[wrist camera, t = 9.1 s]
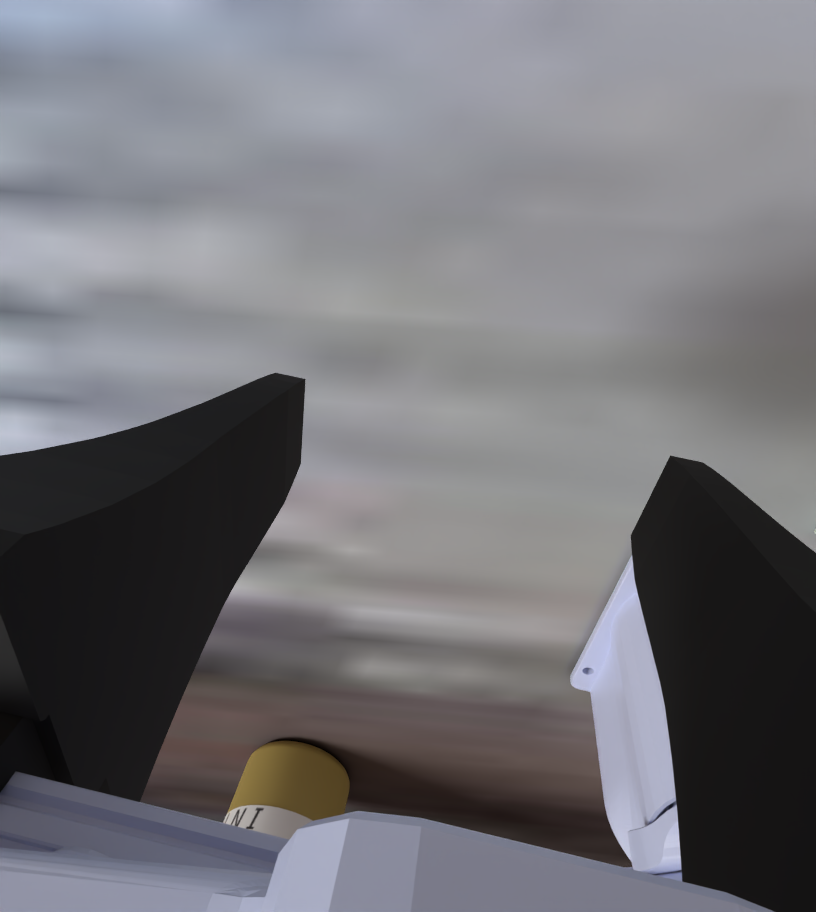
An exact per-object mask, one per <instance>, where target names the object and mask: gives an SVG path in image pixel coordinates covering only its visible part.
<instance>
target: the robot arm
mask: <svg viewBox="0 0 816 912" xmlns="http://www.w3.org/2000/svg"><path fill="white" fill-rule="evenodd" d="M304 394H305V379H302V378H297V377H293V376H288V375H283V374H278V373H274V374H270V375H267V376H265V377H262V378H260V379H257V380H255V381H253V382H250V383H248V384H246V385H243V386H241V387H239V388H237V389H234V390H232V391H230V392H227V393H225V394H223V395H220V396H218V397H216V398H213V399H211V400H209V401H206V402H204V403H202V404H199V405H196V406H194V407H191V408H188V409H186V410H183V411H180V412H178V413H175V414H172V415H170V416H167V417H164V418H162V419H159V420H156V421H153V422H150V423H147V424H144V425H141V426H138V427H134V428H131V429H128V430H124V431H120V432H117V433H113V434H109V435H106V436H102V437H98V438H94V439H89V440H84V441H79V442H74V443H69V444H64V445H60V446H55V447H50V448H45V449H40V450H35V451H29V452H22V453H15V454H8V455H2V456H0V912H816V553H815V552H814V551H812V550H811V549H810V548H809V547H807V546H806V545H805V544H804V543H802V542H801V541H800V540H799V539H797V538H796V537H795V536H794V535H792V534H791V533H790V532H789V531H787V530H786V529H785V528H784V527H783V526H781V525H780V524H779V523H778V522H777V521H775V520H774V519H773V518H772V517H771V516H769V515H768V514H767V513H766V512H765V511H763V510H762V509H761V508H760V507H759V506H757V505H756V504H755V503H754V502H753V501H752V500H750V499H749V498H748V497H747V496H746V495H744V494H743V493H742V492H741V491H740V490H738V489H737V488H736V487H735V486H734V485H732V484H731V483H730V482H729V481H727V480H726V479H725V478H724V477H722V476H721V475H720V474H719V473H717V472H716V471H714V470H713V469H712V468H710V467H709V466H707V465H706V464H704V463H702V462H698V461H693V460H688V459H683V458H679V457H674V456H670V457H669V459H668V462H667V464H666V466H665V468H664V470H663V472H662V474H661V476H660V478H659V480H658V482H657V484H656V486H655V488H654V490H653V492H652V494H651V496H650V498H649V500H648V502H647V504H646V506H645V508H644V510H643V512H642V514H641V516H640V518H639V520H638V522H637V524H636V526H635V528H634V530H633V532H632V534H631V545H632V556H631V558H630V559H629V561H628V563H627V565H626V567H625V569H624V571H623V573H622V575H621V577H620V579H619V581H618V583H617V585H616V587H615V589H614V591H613V593H612V595H611V597H610V599H609V601H608V603H607V605H606V607H605V609H604V611H603V613H602V615H601V616H600V618H599V620H598V622H597V624H596V626H595V628H594V630H593V632H592V634H591V636H590V638H589V640H588V642H587V644H586V646H585V648H584V650H583V652H582V654H581V656H580V658H579V660H578V662H577V664H576V666H575V668H574V670H573V672H572V673H571V676H570V680H571V685H572V686H573V687H575V688H577V689H580V690H585V691H589V692H590V693H591V700H592V708H593V716H594V724H595V732H596V740H597V748H598V756H599V764H600V772H601V780H602V788H603V796H604V803H605V808H606V813H607V817H608V820H609V823H610V826H611V828H612V830H613V833H614V835H615V837H616V839H617V840H618V842H619V844H620V845H621V847H622V849H623V850H624V852H625V853H626V855H627V856H628V858H629V859H630V860H631V862H632V867H627V868H624V867H620V866H616V865H612V864H608V863H604V862H599V861H595V860H591V859H587V858H583V857H579V856H575V855H571V854H567V853H563V852H559V851H554V850H550V849H546V848H542V847H538V846H534V845H530V844H526V843H522V842H518V841H513V840H509V839H505V838H501V837H497V836H493V835H489V834H485V833H481V832H477V831H473V830H468V829H464V828H460V827H456V826H452V825H448V824H444V823H440V822H436V821H432V820H427V819H423V818H417V817H408V816H399V815H390V814H381V813H372V812H364V811H356V812H351V813H346V814H342V815H337V816H333V817H328V818H324V819H319V820H314V821H311V822H310V823H308V824H306V825H304V826H303V827H301V828H299V829H297V831H296V832H295V833H294V834H293V836H292V837H291V838H290V839H285V838H281V837H277V836H273V835H269V834H265V833H261V832H257V831H253V830H249V829H245V828H241V827H237V826H233V825H229V824H225V823H221V822H217V821H213V820H209V819H205V818H201V817H197V816H193V815H189V814H185V813H181V812H177V811H173V810H169V809H165V808H161V807H157V806H153V805H149V804H145V803H141V802H140V800H141V797H142V795H143V792H144V789H145V787H146V784H147V782H148V779H149V777H150V774H151V771H152V769H153V766H154V764H155V761H156V759H157V756H158V754H159V751H160V749H161V746H162V744H163V742H164V739H165V737H166V734H167V732H168V729H169V727H170V725H171V722H172V720H173V717H174V715H175V713H176V710H177V708H178V705H179V703H180V701H181V698H182V696H183V694H184V691H185V689H186V687H187V684H188V682H189V680H190V678H191V675H192V673H193V671H194V669H195V666H196V664H197V662H198V659H199V657H200V655H201V653H202V650H203V648H204V646H205V644H206V642H207V640H208V637H209V635H210V633H211V631H212V629H213V627H214V625H215V622H216V620H217V618H218V616H219V614H220V612H221V609H222V607H223V605H224V603H225V601H226V600H227V598H228V596H229V594H230V592H231V590H232V589H233V587H234V585H235V583H236V582H237V580H238V578H239V577H240V575H241V574H242V572H243V570H244V569H245V567H246V565H247V564H248V562H249V560H250V559H251V557H252V556H253V554H254V552H255V551H256V549H257V547H258V546H259V544H260V542H261V541H262V539H263V538H264V536H265V534H266V533H267V531H268V529H269V528H270V526H271V524H272V523H273V521H274V519H275V518H276V516H277V514H278V513H279V511H280V509H281V507H282V506H283V504H284V502H285V500H286V498H287V495H288V493H289V491H290V489H291V486H292V484H293V481H294V479H295V476H296V474H297V472H298V469H299V467H300V464H301V448H302V430H303V412H304ZM587 667H588V668H587Z"/></svg>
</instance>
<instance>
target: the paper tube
mask: <svg viewBox="0 0 816 912" xmlns="http://www.w3.org/2000/svg"><path fill="white" fill-rule="evenodd" d="M349 788H350V781H349V778H348V775H347V772H346V770H345V768H344V767H343V766H342V764H341V763H340V762H339V761H338V760H337V759H335V758H334V757H333V756H332V755H330V754H329V753H327V752H325V751H324V750H322V749H320V748H317V747H315V746H312V745H309V744H306V743H301V742H296V741H276V742H271V743H267V744H265V745H263V746H261V747H260V748H258V749H257V750H256V751H255V752H253V753H252V755H251V756H250V758H249V760H248V762H247V765H246V767H245V770H244V772H243V775H242V777H241V780H240V783H239V785H238V788H237V790H236V793H235V795H234V798H233V800H232V803H231V805H230V808H229V810H228V813H227V815H226V817H225V819H224V822H223V823H225V824H229V825H233V826H237V827H241V828H245V829H249V830H253V831H257V832H261V833H265V834H269V835H273V836H277V837H281V838H285V839H290V838H291V837H292V836H293V834H294V833H295V832H296V831H297V829H299V828H301V827H303V826H304V825H306V824H308V823H310V822H311V821H314V820H319V819H324V818H328V817H333V816H337V815H342V814H344V811H345V807H346V803H347V798H348V794H349Z"/></svg>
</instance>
